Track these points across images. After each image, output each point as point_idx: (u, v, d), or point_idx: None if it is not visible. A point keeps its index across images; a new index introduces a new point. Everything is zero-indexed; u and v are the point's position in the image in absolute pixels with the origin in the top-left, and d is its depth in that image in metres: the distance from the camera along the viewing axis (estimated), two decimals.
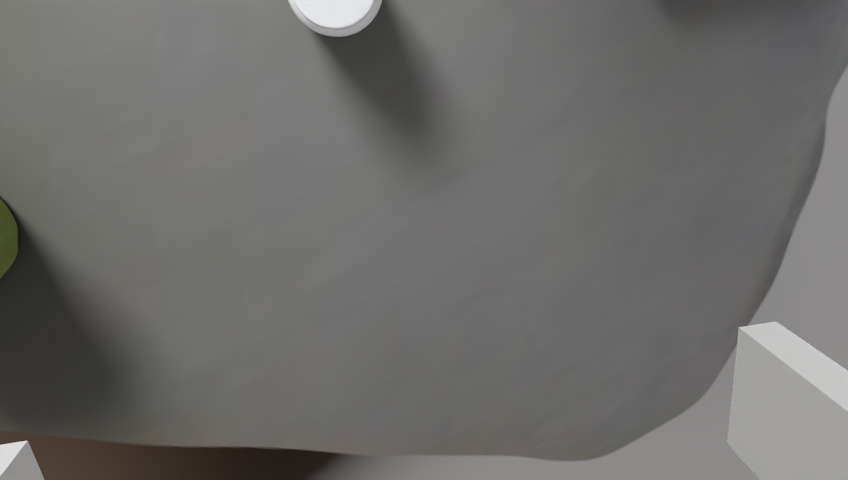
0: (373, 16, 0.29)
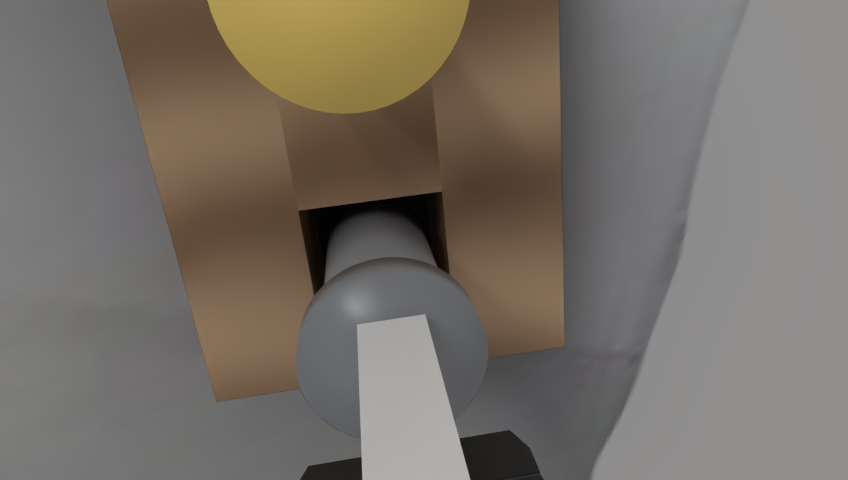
0: None
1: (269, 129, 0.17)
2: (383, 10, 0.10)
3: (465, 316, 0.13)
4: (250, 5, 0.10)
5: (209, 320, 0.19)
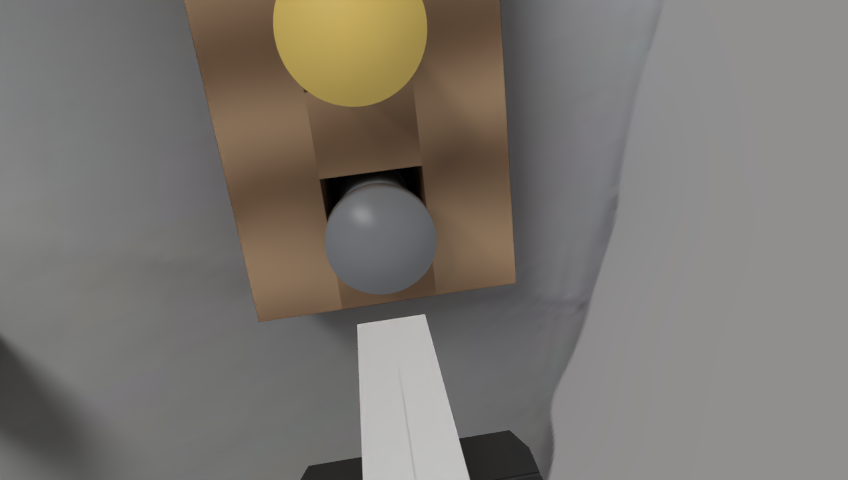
0: None
1: (299, 121, 0.24)
2: (376, 46, 0.17)
3: (422, 215, 0.23)
4: (299, 44, 0.17)
5: (255, 259, 0.26)
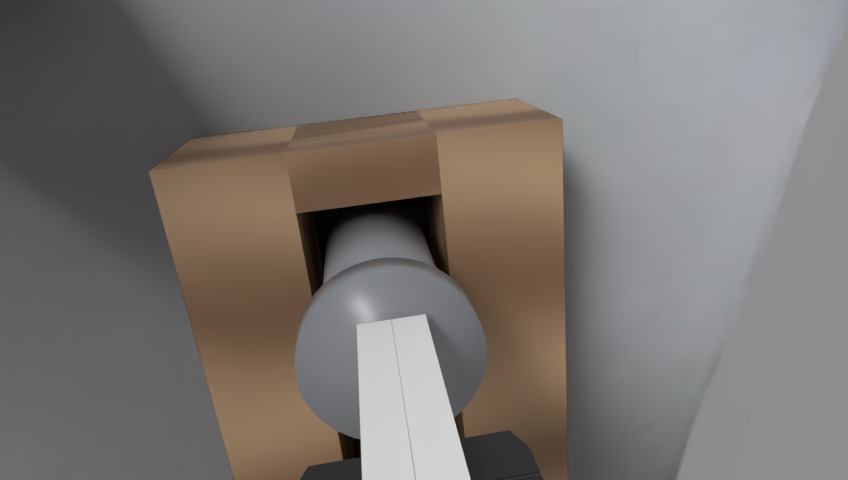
0: None
1: None
2: None
3: None
4: None
5: None
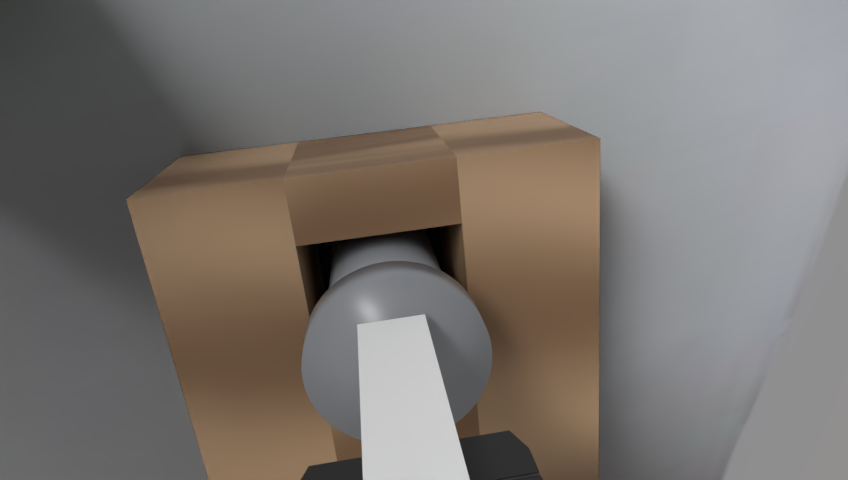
0: None
1: None
2: None
3: None
4: None
5: None
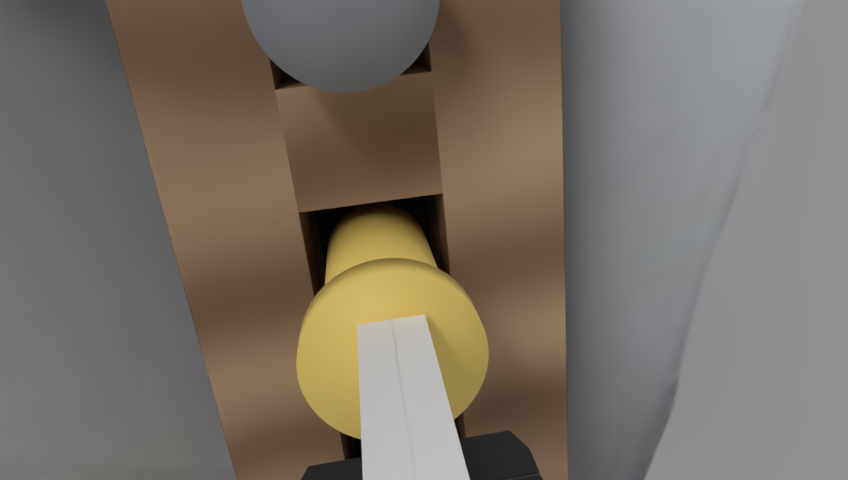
0: None
1: None
2: None
3: None
4: (329, 382, 0.13)
5: None
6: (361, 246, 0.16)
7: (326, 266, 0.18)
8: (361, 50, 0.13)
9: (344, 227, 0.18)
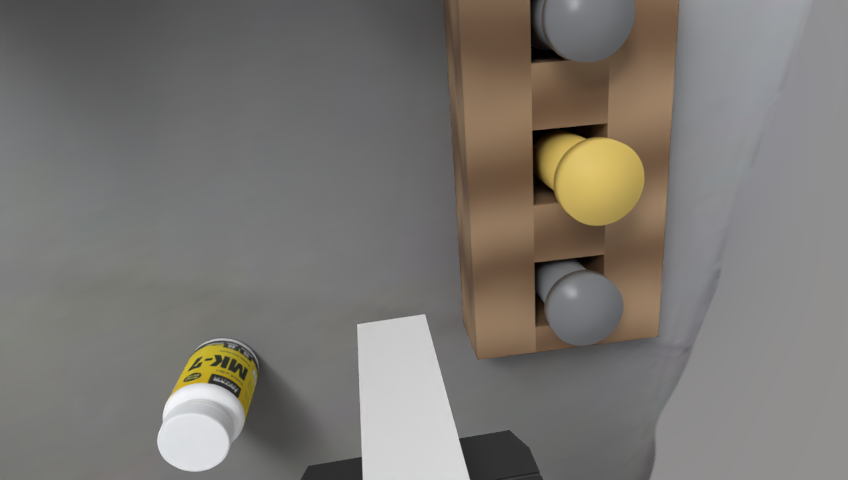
0: None
1: (527, 224, 0.35)
2: (614, 193, 0.30)
3: (616, 293, 0.34)
4: (572, 191, 0.29)
5: (482, 316, 0.36)
6: (571, 140, 0.32)
7: (541, 157, 0.34)
8: (596, 42, 0.29)
9: (547, 138, 0.34)
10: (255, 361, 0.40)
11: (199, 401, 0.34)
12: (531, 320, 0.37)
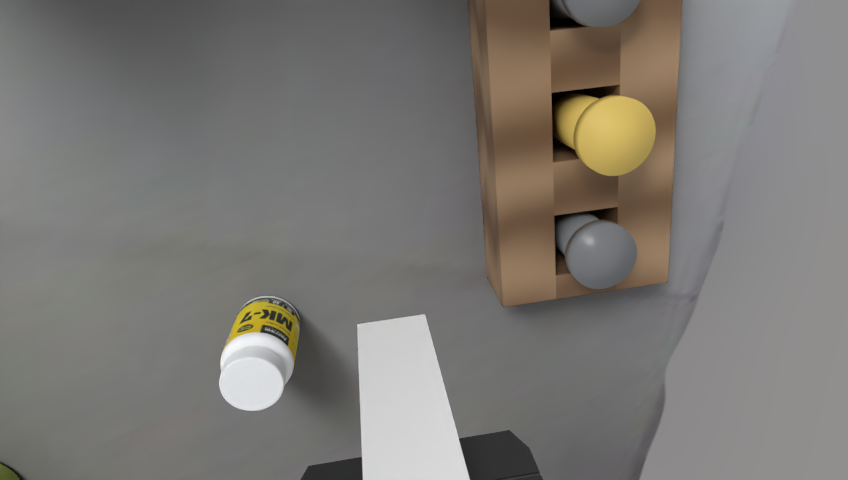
0: (286, 382, 0.39)
1: (547, 180, 0.38)
2: (628, 145, 0.33)
3: (630, 240, 0.37)
4: (591, 145, 0.33)
5: (507, 266, 0.40)
6: (587, 101, 0.35)
7: (559, 117, 0.37)
8: (610, 9, 0.32)
9: (564, 100, 0.38)
10: (297, 316, 0.44)
11: (254, 347, 0.37)
12: (552, 269, 0.40)
